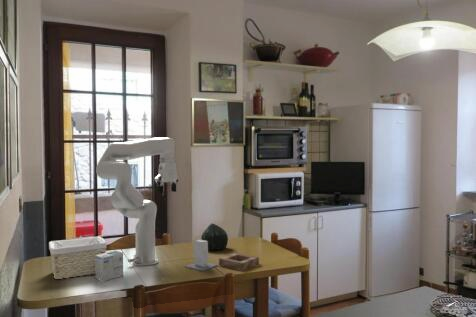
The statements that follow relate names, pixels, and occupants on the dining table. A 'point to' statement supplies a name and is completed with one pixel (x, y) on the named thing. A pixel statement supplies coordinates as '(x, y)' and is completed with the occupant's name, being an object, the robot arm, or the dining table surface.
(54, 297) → the dining table surface
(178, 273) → the dining table surface
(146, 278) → the dining table surface
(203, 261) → the skincare box
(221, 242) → the squash
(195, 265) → the slate pad
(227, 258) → the sleeve block
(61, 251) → the storage basket
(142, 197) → the robot arm
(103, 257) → the light bulb box
